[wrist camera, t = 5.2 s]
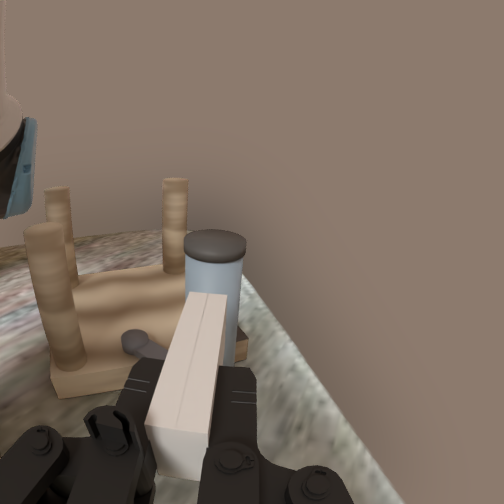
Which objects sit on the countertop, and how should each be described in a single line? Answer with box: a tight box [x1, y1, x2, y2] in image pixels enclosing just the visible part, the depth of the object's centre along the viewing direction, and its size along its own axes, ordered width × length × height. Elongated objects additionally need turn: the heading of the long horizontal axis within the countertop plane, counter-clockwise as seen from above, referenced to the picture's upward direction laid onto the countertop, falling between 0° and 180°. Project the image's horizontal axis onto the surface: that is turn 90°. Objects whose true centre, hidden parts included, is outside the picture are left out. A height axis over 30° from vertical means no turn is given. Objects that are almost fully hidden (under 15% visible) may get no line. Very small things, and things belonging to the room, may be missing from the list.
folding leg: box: [121, 229, 246, 367], centre depth 21 cm, size 11×3×12 cm, turn 59°
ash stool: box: [23, 178, 248, 399], centre depth 30 cm, size 18×18×14 cm
